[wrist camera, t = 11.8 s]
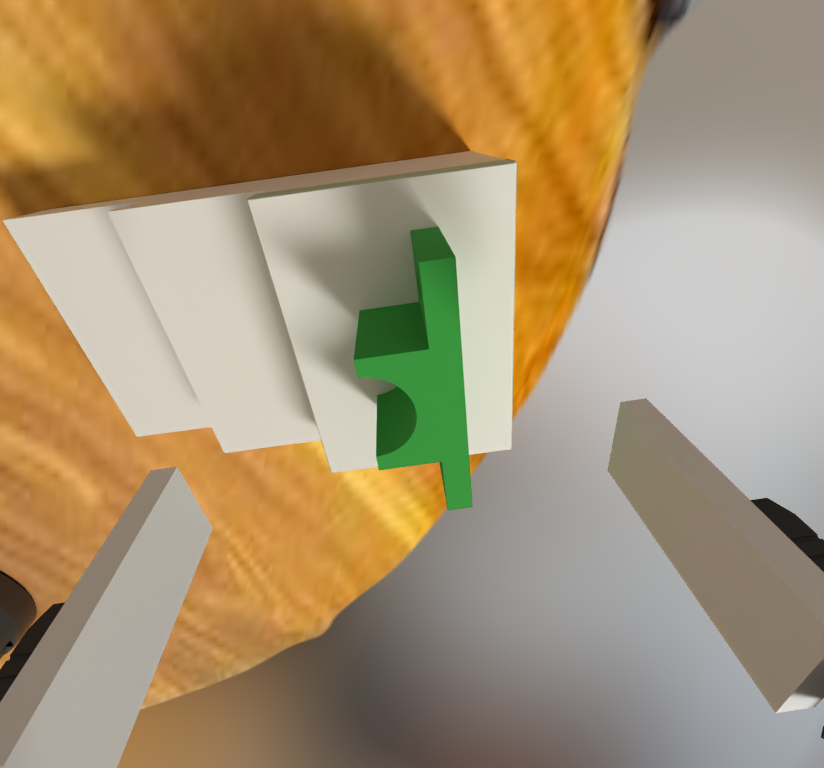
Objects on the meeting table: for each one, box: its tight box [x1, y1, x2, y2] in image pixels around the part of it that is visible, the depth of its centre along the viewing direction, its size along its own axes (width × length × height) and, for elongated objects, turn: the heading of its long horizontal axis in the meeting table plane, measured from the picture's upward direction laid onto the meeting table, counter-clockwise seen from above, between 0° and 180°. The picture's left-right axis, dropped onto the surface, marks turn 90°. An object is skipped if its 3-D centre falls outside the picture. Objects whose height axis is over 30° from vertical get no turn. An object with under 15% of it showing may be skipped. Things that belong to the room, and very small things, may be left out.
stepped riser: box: [3, 151, 517, 473], centre depth 23 cm, size 24×14×9 cm, turn 97°
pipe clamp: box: [354, 227, 472, 510], centre depth 17 cm, size 11×4×5 cm, turn 7°
